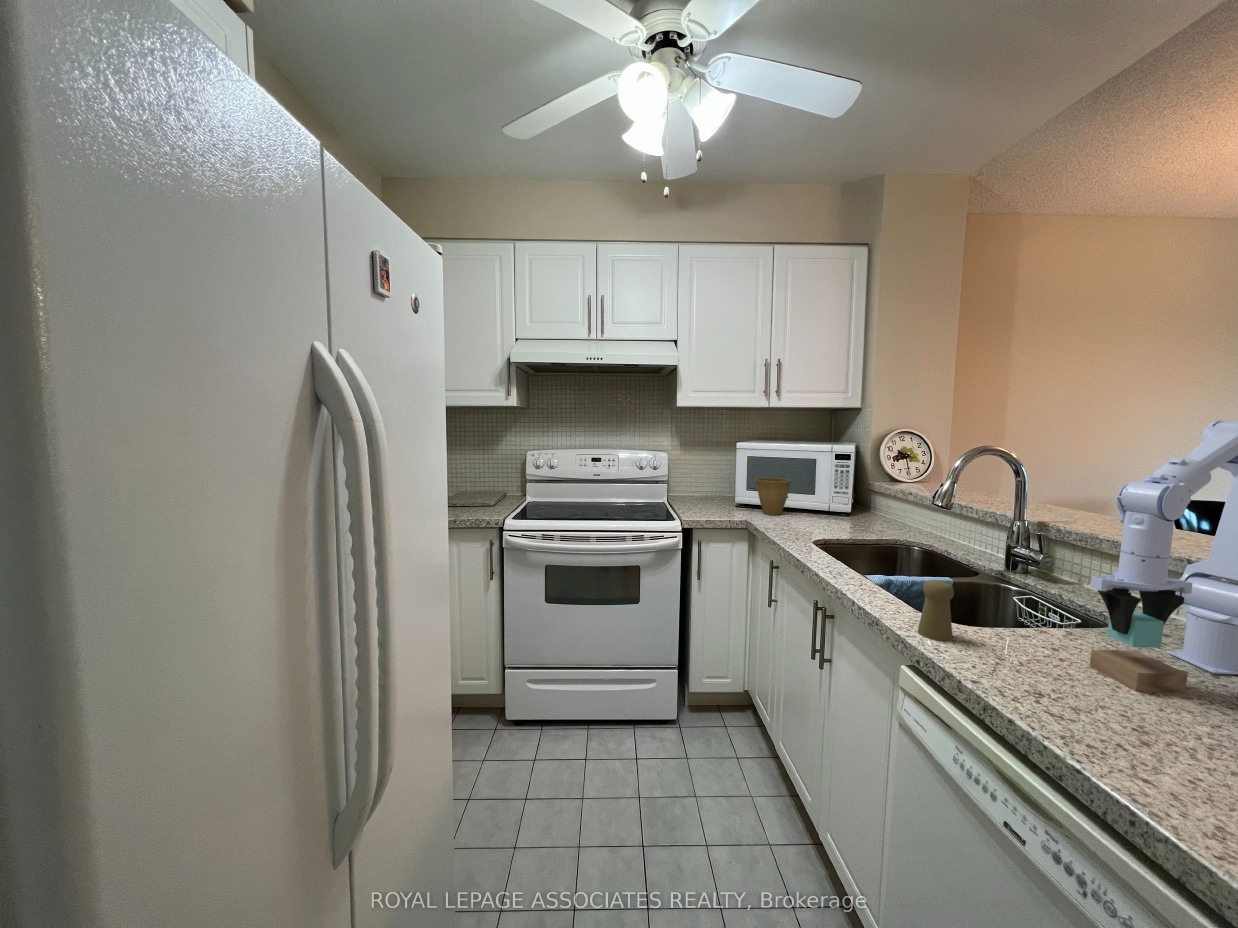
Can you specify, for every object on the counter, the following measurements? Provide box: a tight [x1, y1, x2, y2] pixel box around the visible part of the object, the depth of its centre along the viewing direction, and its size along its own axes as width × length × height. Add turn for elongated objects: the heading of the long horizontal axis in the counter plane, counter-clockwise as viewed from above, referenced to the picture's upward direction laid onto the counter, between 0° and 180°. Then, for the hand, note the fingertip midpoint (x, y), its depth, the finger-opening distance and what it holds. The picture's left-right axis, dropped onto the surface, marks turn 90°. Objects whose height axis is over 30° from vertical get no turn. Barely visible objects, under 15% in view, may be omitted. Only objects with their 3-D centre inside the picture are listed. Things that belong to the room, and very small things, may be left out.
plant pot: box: [756, 477, 792, 516], centre depth 228 cm, size 15×15×16 cm
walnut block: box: [1089, 649, 1188, 693], centre depth 85 cm, size 8×8×4 cm
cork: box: [917, 579, 955, 642], centre depth 101 cm, size 6×6×11 cm
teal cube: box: [1106, 610, 1165, 649], centre depth 85 cm, size 4×4×4 cm
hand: (1135, 632), depth 85 cm, fingers closed on teal cube, 4 cm apart
